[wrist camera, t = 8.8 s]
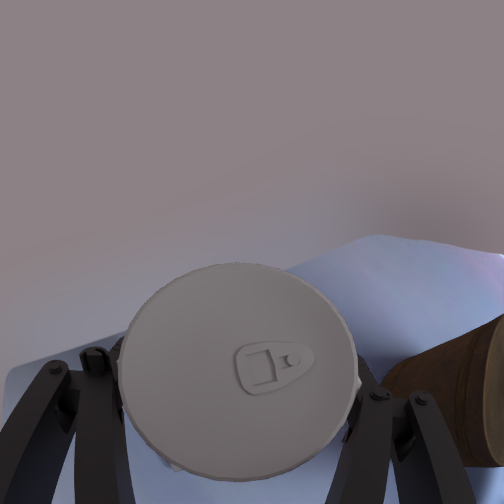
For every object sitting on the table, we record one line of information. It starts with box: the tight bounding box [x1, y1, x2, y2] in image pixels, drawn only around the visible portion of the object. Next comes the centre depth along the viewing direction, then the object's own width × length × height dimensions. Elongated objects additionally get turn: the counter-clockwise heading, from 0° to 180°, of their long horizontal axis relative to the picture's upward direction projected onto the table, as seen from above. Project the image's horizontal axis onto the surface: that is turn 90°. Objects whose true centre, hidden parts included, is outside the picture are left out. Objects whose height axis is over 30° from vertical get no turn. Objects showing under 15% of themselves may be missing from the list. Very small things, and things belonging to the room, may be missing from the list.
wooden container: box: [380, 314, 504, 468], centre depth 17 cm, size 15×15×22 cm
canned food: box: [118, 263, 358, 482], centre depth 12 cm, size 8×8×11 cm
